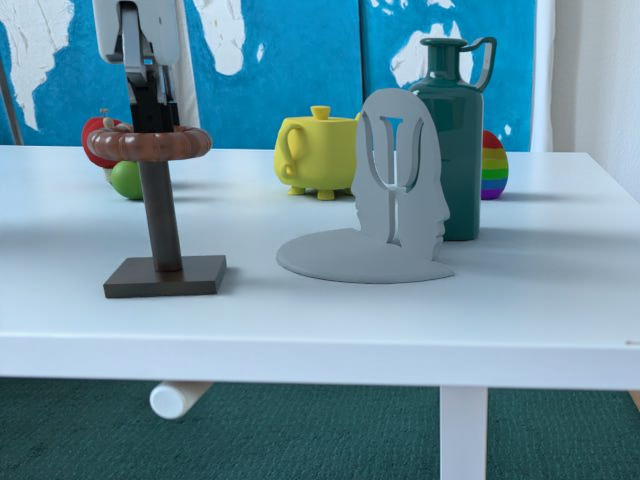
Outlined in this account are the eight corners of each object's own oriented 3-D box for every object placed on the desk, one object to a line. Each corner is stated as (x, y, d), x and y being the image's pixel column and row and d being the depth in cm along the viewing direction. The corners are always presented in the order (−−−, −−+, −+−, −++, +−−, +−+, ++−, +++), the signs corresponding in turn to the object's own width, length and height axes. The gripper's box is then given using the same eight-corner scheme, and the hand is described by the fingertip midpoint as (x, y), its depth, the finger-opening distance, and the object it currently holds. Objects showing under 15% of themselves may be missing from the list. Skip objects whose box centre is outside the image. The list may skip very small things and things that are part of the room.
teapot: (251, 195, 106) (242, 105, 101) (342, 180, 122) (338, 101, 117) (318, 206, 99) (312, 110, 94) (405, 189, 115) (404, 106, 110)
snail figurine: (133, 193, 104) (119, 107, 100) (164, 198, 102) (151, 110, 97) (101, 199, 100) (84, 109, 95) (132, 203, 97) (117, 112, 93)
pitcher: (409, 241, 82) (408, 32, 73) (405, 225, 89) (403, 35, 81) (492, 240, 83) (500, 36, 75) (481, 225, 91) (487, 38, 82)
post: (105, 298, 60) (79, 162, 56) (129, 269, 68) (108, 149, 64) (216, 293, 62) (200, 162, 57) (227, 266, 70) (213, 149, 66)
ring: (76, 163, 55) (70, 134, 55) (108, 148, 64) (103, 123, 63) (205, 163, 57) (201, 135, 57) (219, 149, 66) (216, 124, 65)
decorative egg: (451, 199, 108) (452, 130, 104) (459, 190, 115) (460, 126, 111) (505, 202, 107) (508, 133, 103) (509, 193, 114) (512, 128, 110)
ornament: (458, 274, 70) (461, 93, 63) (336, 296, 62) (325, 93, 56) (351, 231, 86) (345, 83, 79) (244, 245, 78) (227, 82, 71)
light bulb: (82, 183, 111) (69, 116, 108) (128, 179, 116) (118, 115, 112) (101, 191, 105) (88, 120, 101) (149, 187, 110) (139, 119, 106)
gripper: (101, -73, 63) (135, 141, 70) (40, -113, 49) (91, 162, 56) (190, -68, 65) (215, 141, 72) (157, -104, 50) (191, 162, 57)
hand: (160, 148), depth 64 cm, fingers closed on ring, 2 cm apart
